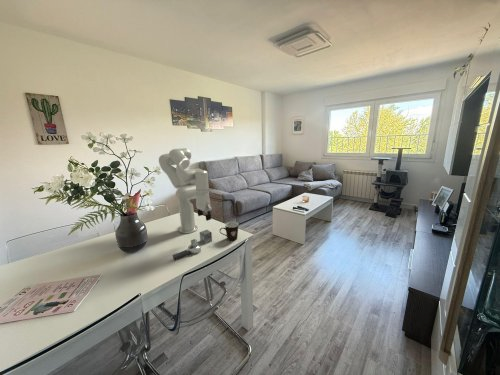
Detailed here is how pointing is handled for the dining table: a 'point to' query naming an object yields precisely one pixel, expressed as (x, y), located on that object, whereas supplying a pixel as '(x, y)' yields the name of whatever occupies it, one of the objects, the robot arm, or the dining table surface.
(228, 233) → the coffee mug
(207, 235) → the socket
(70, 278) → the dining table surface
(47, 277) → the dining table surface
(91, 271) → the dining table surface
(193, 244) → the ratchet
